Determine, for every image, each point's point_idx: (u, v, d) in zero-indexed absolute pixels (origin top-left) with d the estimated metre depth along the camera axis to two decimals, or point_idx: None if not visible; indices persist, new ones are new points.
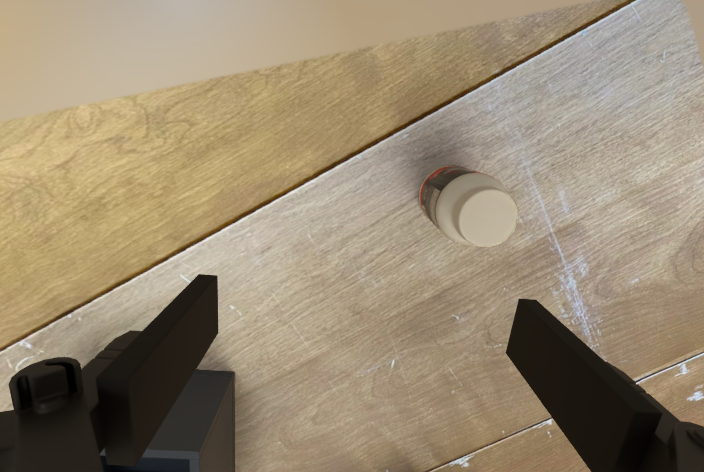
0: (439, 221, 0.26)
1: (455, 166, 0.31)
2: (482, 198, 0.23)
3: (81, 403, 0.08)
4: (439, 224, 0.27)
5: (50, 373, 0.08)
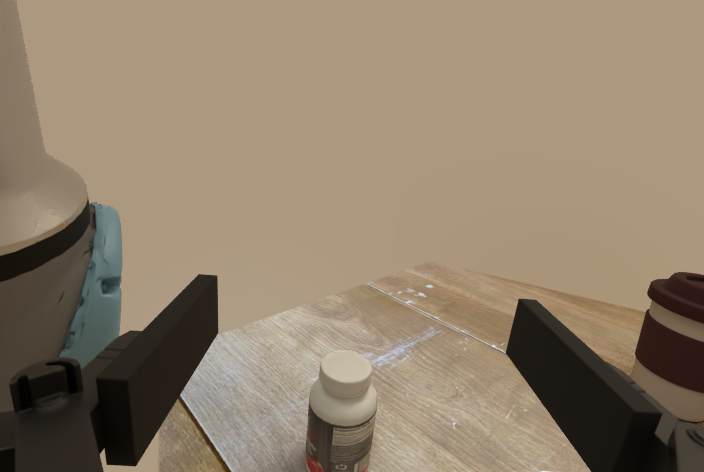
0: (362, 416, 0.26)
1: (306, 453, 0.30)
2: (330, 371, 0.27)
3: (81, 403, 0.08)
4: (365, 416, 0.27)
5: (50, 373, 0.08)
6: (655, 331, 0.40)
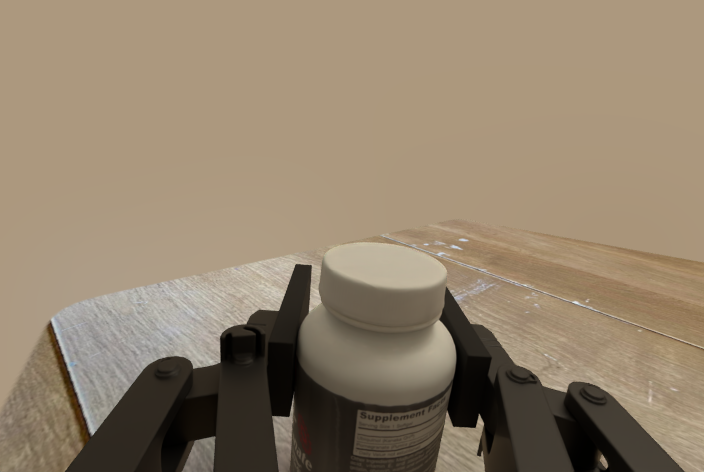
0: (431, 380, 0.10)
1: None
2: (346, 267, 0.11)
3: (262, 366, 0.10)
4: (438, 382, 0.10)
5: (245, 336, 0.10)
6: None
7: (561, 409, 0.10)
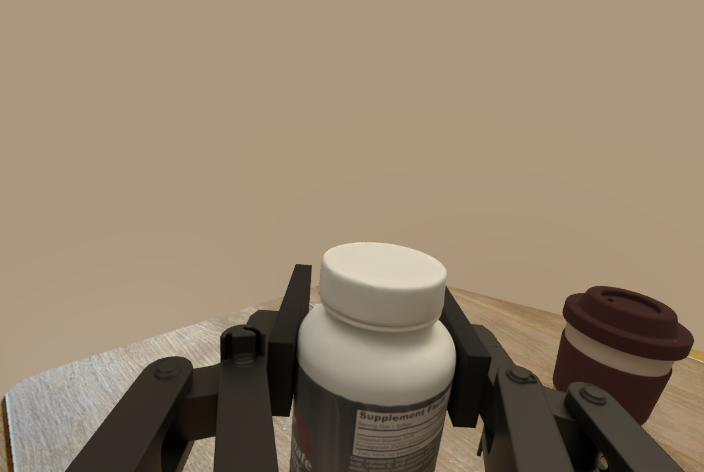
0: (431, 380, 0.10)
1: None
2: (346, 267, 0.11)
3: (262, 366, 0.10)
4: (437, 382, 0.10)
5: (245, 336, 0.10)
6: (567, 353, 0.35)
7: (561, 409, 0.10)
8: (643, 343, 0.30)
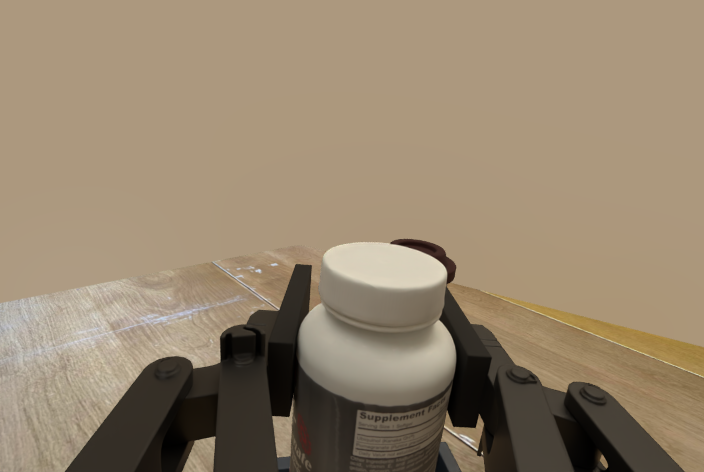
0: (431, 380, 0.10)
1: None
2: (346, 267, 0.11)
3: (262, 366, 0.10)
4: (438, 382, 0.10)
5: (245, 336, 0.10)
6: None
7: (561, 409, 0.10)
8: None
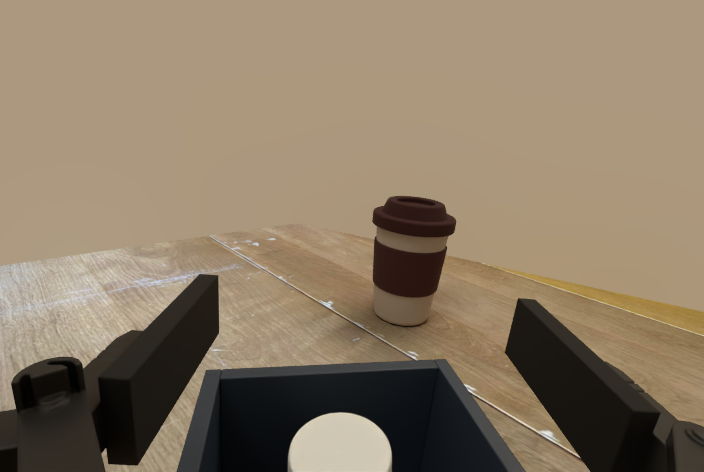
0: None
1: None
2: (306, 468, 0.13)
3: (83, 402, 0.08)
4: None
5: (52, 372, 0.08)
6: (374, 246, 0.45)
7: None
8: (404, 223, 0.39)
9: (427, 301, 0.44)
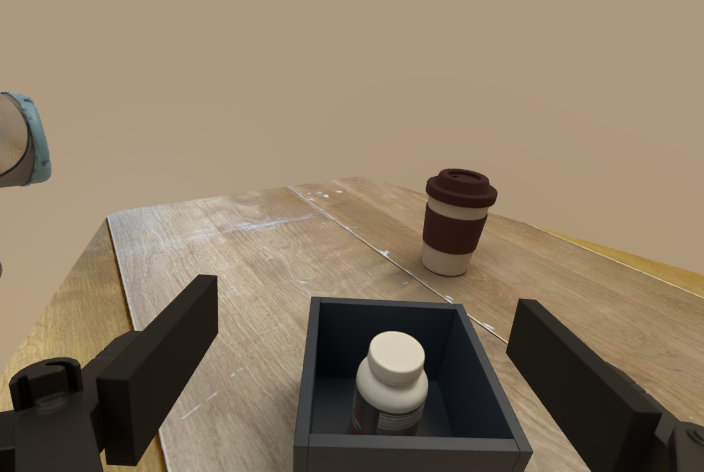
0: (411, 405, 0.25)
1: (351, 426, 0.29)
2: (379, 355, 0.25)
3: (81, 403, 0.08)
4: (414, 405, 0.25)
5: (50, 373, 0.08)
6: None
7: None
8: (451, 195, 0.48)
9: (466, 258, 0.54)
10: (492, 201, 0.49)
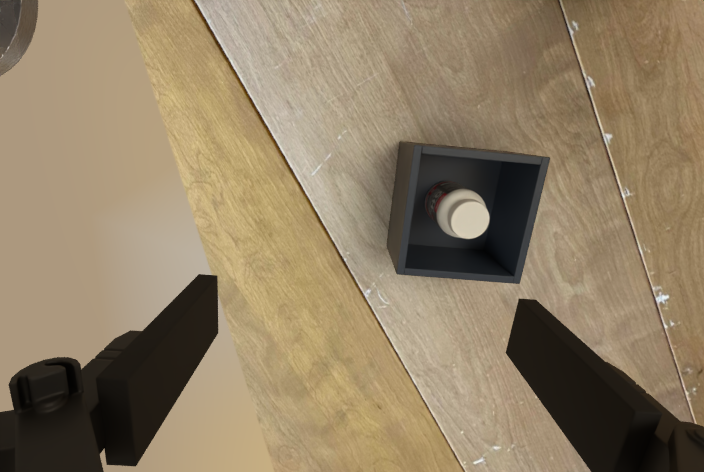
0: None
1: (426, 202, 0.44)
2: (456, 225, 0.37)
3: (81, 403, 0.08)
4: None
5: (50, 373, 0.08)
6: None
7: None
8: None
9: None
10: None
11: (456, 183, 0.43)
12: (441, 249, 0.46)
